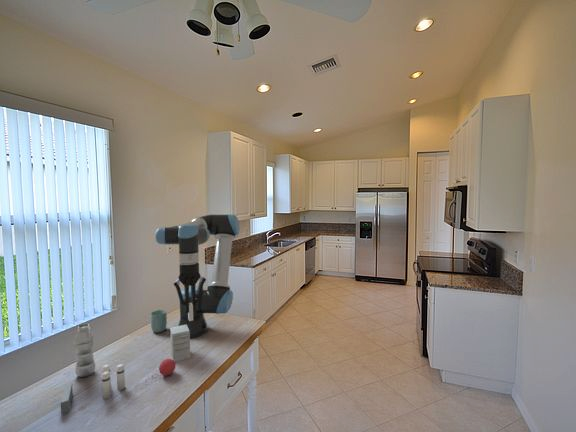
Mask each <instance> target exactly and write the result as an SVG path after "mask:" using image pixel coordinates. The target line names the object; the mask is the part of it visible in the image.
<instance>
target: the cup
mask: <svg viewBox="0 0 576 432" xmlns="http://www.w3.org/2000/svg"><path fill="white" fill-rule="evenodd" d="M167 314H168V313H167V311H166V310H165V309H158V310H153V311H151V312H150V315H149V317H150V318H149V319H150V329H151V331H152V332H153V333H154V334H155V333H156V334H157V333H162V332H163V331H165V330H166V328H167V323H168V322H167V321H168V317H167V316H168V315H167Z"/></svg>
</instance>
